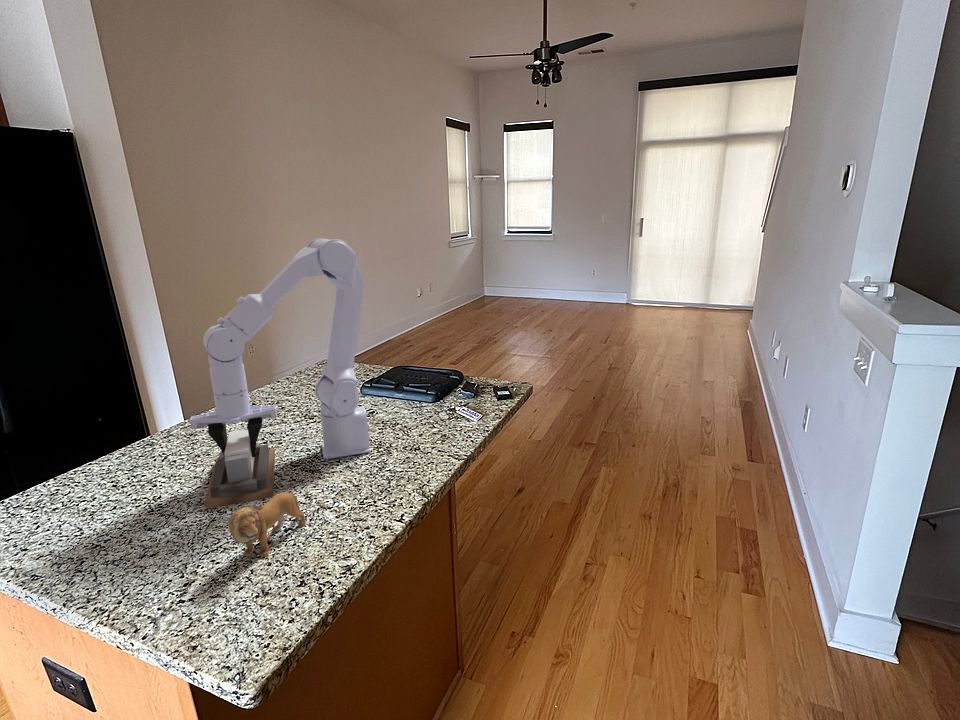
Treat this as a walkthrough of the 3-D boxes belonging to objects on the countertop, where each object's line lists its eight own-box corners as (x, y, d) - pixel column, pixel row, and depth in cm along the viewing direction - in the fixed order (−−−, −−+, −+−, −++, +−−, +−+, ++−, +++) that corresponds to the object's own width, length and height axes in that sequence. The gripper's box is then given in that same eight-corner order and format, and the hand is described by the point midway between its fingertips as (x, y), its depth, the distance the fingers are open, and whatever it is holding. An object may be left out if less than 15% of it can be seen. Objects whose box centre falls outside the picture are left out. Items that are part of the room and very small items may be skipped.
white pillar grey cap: (254, 451, 103) (251, 428, 102) (251, 479, 93) (247, 454, 91) (233, 454, 102) (229, 431, 101) (227, 483, 91) (223, 458, 90)
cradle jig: (275, 453, 108) (273, 440, 107) (273, 496, 92) (271, 481, 91) (217, 463, 105) (215, 449, 104) (205, 508, 88) (202, 493, 87)
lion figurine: (257, 575, 72) (248, 520, 69) (224, 570, 73) (215, 515, 71) (313, 517, 86) (308, 469, 83) (285, 513, 87) (279, 465, 84)
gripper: (182, 402, 88) (195, 473, 92) (272, 391, 93) (281, 459, 97) (189, 390, 95) (201, 456, 98) (273, 380, 99) (281, 444, 103)
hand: (241, 457), depth 98 cm, fingers closed on white pillar grey cap, 4 cm apart
